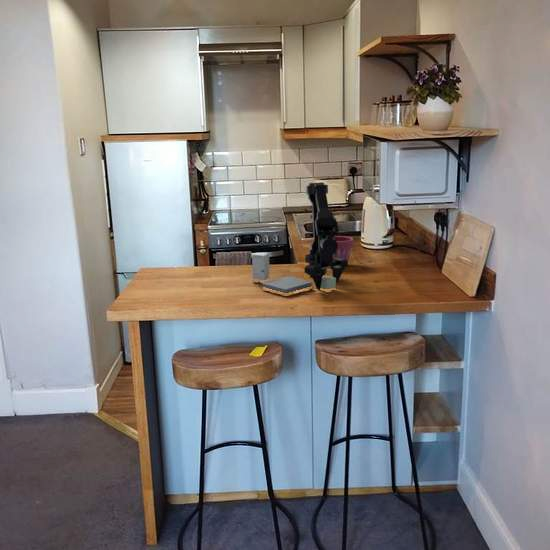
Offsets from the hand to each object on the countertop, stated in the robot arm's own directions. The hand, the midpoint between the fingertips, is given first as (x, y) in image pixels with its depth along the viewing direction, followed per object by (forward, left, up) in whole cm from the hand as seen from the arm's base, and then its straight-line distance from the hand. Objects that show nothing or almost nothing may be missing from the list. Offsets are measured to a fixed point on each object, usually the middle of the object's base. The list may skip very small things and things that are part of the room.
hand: (326, 287), depth 225 cm
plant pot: (-32, -24, -1) cm, 40 cm away
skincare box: (+9, -29, -1) cm, 30 cm away
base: (+10, -12, -1) cm, 16 cm away
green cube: (0, 0, -1) cm, 1 cm away
